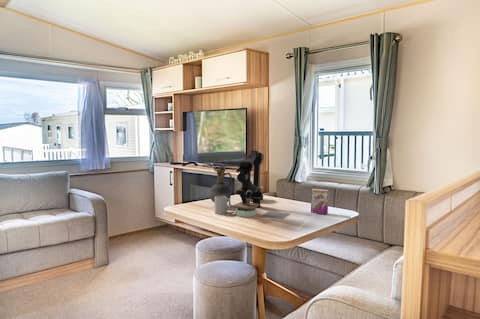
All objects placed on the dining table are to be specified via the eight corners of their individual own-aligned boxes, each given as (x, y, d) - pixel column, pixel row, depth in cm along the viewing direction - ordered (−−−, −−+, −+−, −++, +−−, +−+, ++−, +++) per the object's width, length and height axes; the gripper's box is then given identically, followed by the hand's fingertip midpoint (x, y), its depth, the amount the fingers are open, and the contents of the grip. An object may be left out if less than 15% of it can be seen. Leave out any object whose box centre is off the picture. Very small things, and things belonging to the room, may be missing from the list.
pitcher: (207, 206, 254) (207, 165, 252) (226, 202, 268) (226, 164, 265) (217, 208, 247) (217, 167, 244) (236, 204, 260) (236, 165, 258)
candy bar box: (310, 213, 236) (311, 189, 235) (311, 211, 241) (312, 188, 239) (327, 214, 232) (328, 190, 231) (328, 213, 237) (328, 189, 236)
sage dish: (241, 212, 238) (241, 205, 238) (258, 214, 233) (258, 207, 232) (232, 216, 227) (232, 209, 226) (250, 218, 221) (250, 211, 221)
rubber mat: (268, 211, 239) (268, 211, 239) (290, 214, 232) (290, 213, 232) (259, 216, 225) (259, 216, 225) (282, 220, 218) (282, 219, 218)
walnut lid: (241, 203, 239) (241, 196, 238) (259, 205, 232) (260, 198, 232) (231, 207, 226) (231, 199, 226) (251, 209, 220) (251, 201, 219)
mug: (218, 214, 230) (218, 198, 229) (212, 212, 236) (212, 196, 235) (233, 212, 237) (233, 196, 236) (226, 210, 243) (226, 194, 242)
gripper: (251, 182, 216) (251, 207, 217) (263, 179, 232) (262, 201, 234) (235, 181, 221) (235, 205, 222) (248, 177, 237) (247, 200, 239)
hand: (246, 203), depth 229 cm, fingers closed on walnut lid, 4 cm apart
